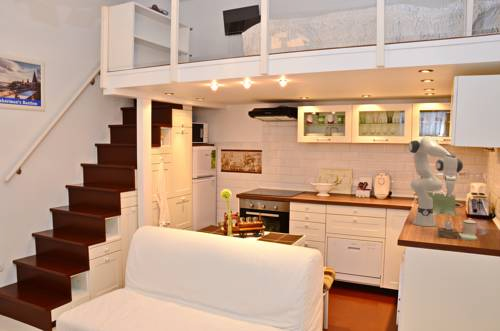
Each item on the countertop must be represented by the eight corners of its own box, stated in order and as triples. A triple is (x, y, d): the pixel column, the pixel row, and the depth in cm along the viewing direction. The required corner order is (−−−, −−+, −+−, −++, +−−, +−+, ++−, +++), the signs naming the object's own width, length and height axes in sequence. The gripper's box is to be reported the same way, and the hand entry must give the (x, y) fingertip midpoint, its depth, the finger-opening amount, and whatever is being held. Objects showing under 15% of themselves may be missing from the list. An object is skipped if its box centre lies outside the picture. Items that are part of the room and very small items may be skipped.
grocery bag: (454, 213, 377) (455, 189, 376) (456, 215, 364) (457, 191, 363) (418, 210, 388) (419, 187, 386) (419, 213, 375) (421, 189, 373)
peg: (443, 235, 285) (444, 220, 285) (450, 235, 284) (451, 221, 283) (444, 236, 281) (445, 221, 281) (451, 237, 280) (452, 222, 279)
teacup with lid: (474, 232, 296) (475, 217, 295) (477, 235, 287) (478, 220, 286) (457, 231, 300) (458, 216, 299) (459, 233, 291) (460, 218, 291)
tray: (458, 235, 285) (458, 233, 285) (474, 237, 281) (474, 234, 281) (460, 239, 274) (461, 236, 274) (477, 241, 270) (477, 238, 270)
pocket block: (437, 233, 290) (438, 227, 290) (455, 235, 286) (456, 228, 286) (439, 237, 279) (439, 230, 279) (457, 239, 275) (458, 232, 274)
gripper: (444, 176, 291) (443, 194, 291) (446, 178, 272) (445, 197, 273) (453, 176, 288) (452, 194, 289) (456, 178, 269) (455, 198, 270)
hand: (449, 196), depth 281 cm, fingers open, 8 cm apart
